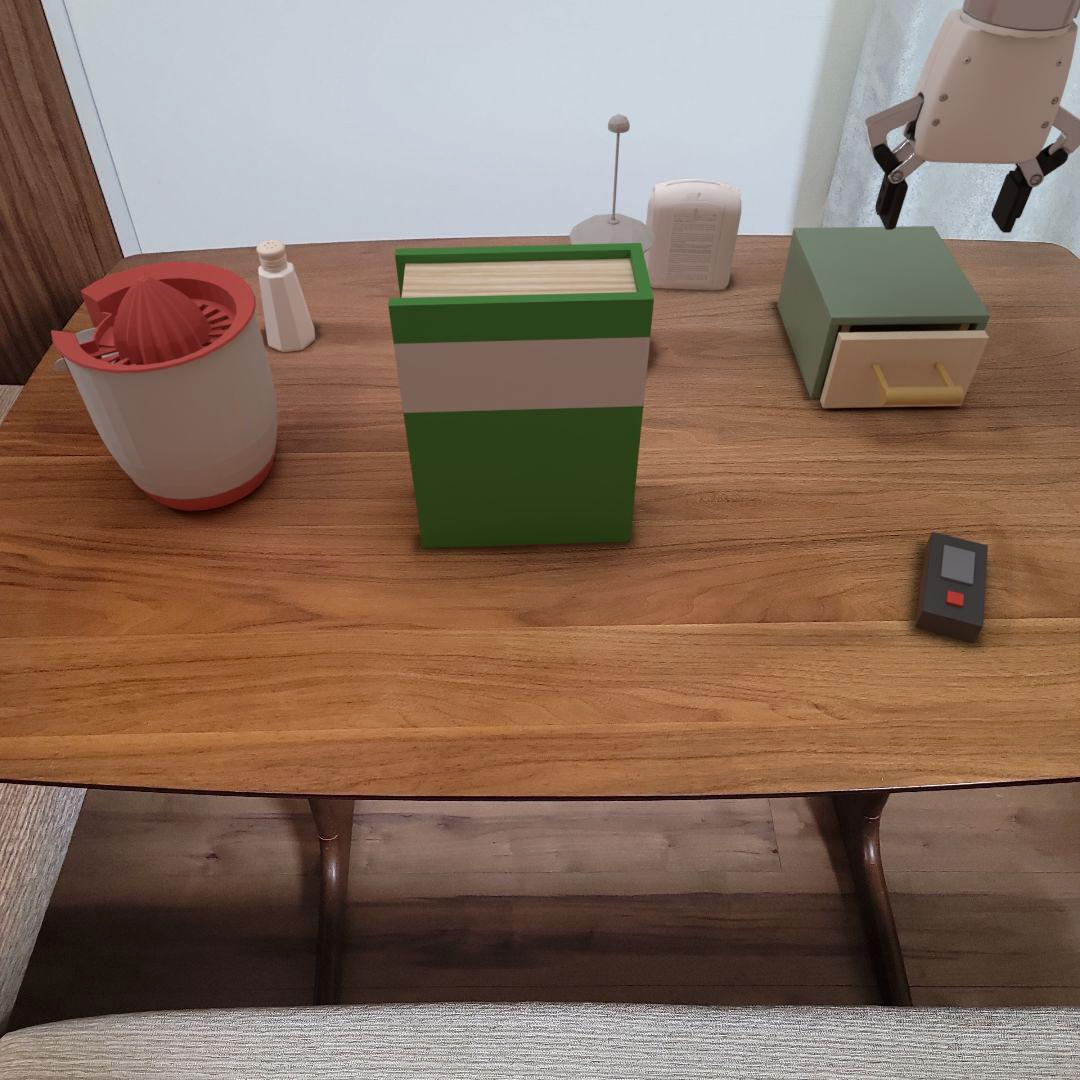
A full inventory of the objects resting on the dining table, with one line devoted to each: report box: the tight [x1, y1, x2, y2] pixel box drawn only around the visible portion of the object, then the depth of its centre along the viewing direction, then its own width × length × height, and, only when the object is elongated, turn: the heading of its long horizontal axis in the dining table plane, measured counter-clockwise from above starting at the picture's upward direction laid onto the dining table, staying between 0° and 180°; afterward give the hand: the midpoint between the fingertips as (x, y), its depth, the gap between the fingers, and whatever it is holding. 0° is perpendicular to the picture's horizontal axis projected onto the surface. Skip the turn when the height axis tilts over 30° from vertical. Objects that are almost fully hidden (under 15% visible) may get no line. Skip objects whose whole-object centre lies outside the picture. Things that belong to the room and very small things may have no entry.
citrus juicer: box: [50, 261, 279, 512], centre depth 79 cm, size 16×17×20 cm
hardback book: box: [387, 243, 655, 549], centre depth 73 cm, size 18×7×24 cm, turn 92°
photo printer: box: [644, 177, 742, 291], centre depth 103 cm, size 10×4×12 cm, turn 86°
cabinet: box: [776, 225, 991, 399], centre depth 95 cm, size 17×15×10 cm
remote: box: [914, 531, 989, 644], centre depth 74 cm, size 9×4×3 cm, turn 159°
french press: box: [568, 113, 655, 253], centre depth 88 cm, size 10×12×25 cm
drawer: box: [819, 323, 990, 409], centre depth 91 cm, size 21×14×8 cm, turn 1°
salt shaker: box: [255, 239, 316, 353], centre depth 96 cm, size 5×5×11 cm
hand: (943, 223), depth 79 cm, fingers open, 9 cm apart
